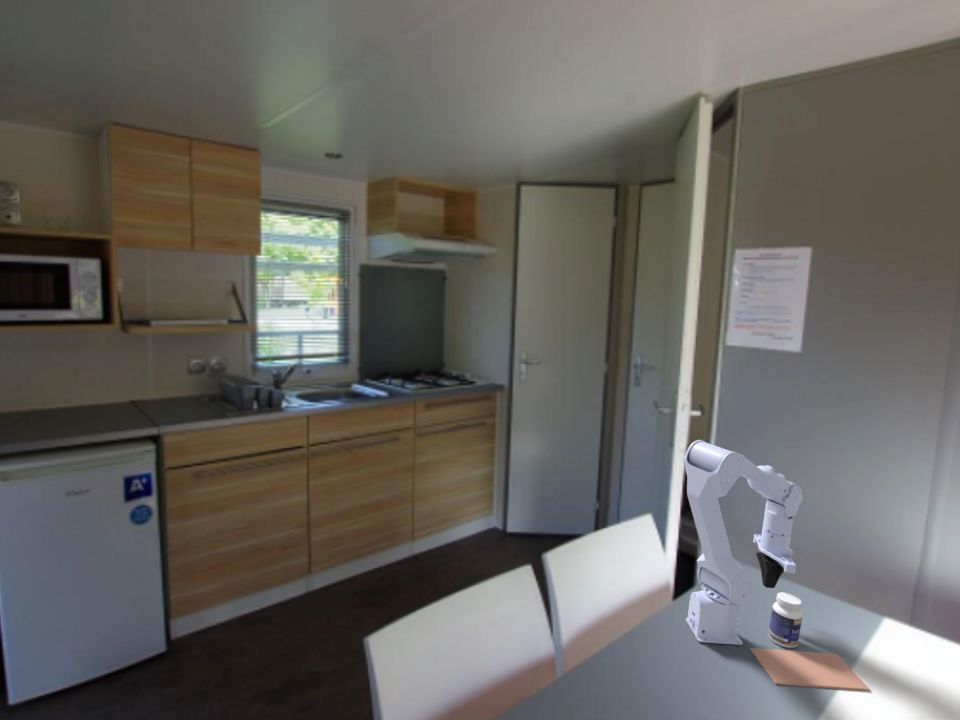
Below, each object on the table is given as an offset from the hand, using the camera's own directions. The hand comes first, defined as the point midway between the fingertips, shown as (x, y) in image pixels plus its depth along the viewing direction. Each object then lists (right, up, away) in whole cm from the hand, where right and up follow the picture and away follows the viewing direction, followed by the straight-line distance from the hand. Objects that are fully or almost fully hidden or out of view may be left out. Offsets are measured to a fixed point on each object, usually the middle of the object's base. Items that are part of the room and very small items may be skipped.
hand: (768, 586), depth 123 cm
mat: (-1, -10, -16) cm, 19 cm away
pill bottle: (-1, -9, -7) cm, 11 cm away
